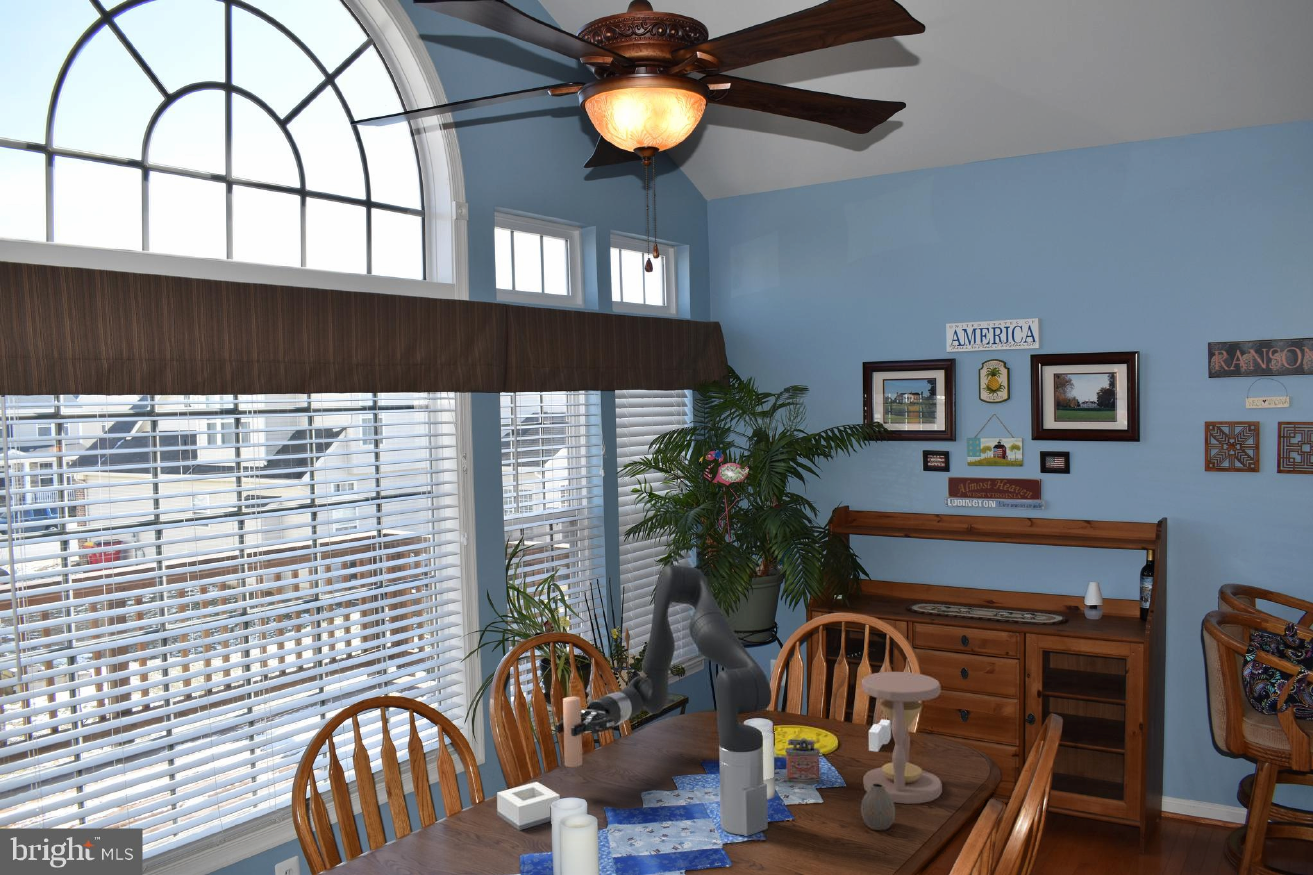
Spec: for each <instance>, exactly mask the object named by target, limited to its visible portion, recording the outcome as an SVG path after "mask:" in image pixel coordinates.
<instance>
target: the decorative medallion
mask: <svg viewBox="0 0 1313 875" xmlns="http://www.w3.org/2000/svg"><path fill="white" fill-rule="evenodd" d="M773 726H774V731H775V732H774V733H775V754H776V756H775V757H777V756H785V757H786V753H785V749H786V748H790V747H794V745H788V740H789V739H798V740H801V739H802V738H806V739H807V740H814V748H818V749H819V750H820V754H825V755H827V754H830V753H832V752H834V751H835V750H836V749H838V746H839V740H838V738H837V736H836V735H834V734H833V733H831V732H829V731H827V730H824V729H821V728H816V727H812V726H806V725H792V724H791V725H789V724H787V725H785V724H784V725H782V724H781V725H773ZM797 747H799V746H797ZM809 747H810V746H809ZM810 748H811V747H810ZM785 757H784V758H785Z"/></svg>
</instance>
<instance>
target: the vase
mask: <svg viewBox="0 0 1313 875" xmlns="http://www.w3.org/2000/svg"><path fill="white" fill-rule="evenodd" d="M860 808H861V809H860V811H861V816H862V819H863V822H864V823H865V824H866V826H867V827H869V829H871V830H873V831H885V830H887V829H889V828H890V827H891V826H892V825H893V822H894V820H895V816H896V806H895V802H893V800H892V798H891V796H890V795H889V794H888V792H887V791H886V790H885V788H884V786H883V785H882V784H880V783H874V784H872V786H871V788H870V789H869V791H868V792H867V791H866V793H865V794H864V796H863V798H862V800H861V805H860Z"/></svg>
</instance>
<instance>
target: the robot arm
mask: <svg viewBox="0 0 1313 875" xmlns="http://www.w3.org/2000/svg"><path fill="white" fill-rule="evenodd" d="M671 603H674V604H683V605H689V606H691V607H693V609H694V612H693V614H692V615H691V618H690V620H689V625H688V628H689V634H690V636H691V639H692V640H693V642H694V645H695V646H696V649H698V652H700V654H701V655H702V656H703V657H704V658H706V659H707V660H709V661H711V662H712V663H714V664H715V665H718V666H719V667H720V668H724V670H721V671H719V673H717V675H716V679H715V687H714V689H715V702H716V715H717V717H716V718H717V723H716V724H717V733H718V743H719V744H718V748H719V749H718V751H719V755H718V756H719V804H720V805H719V806H720V807H719V808H720V809H719V810H720V811H719V812H720V827H721V829H722V830H724V831H725V832H727V833H730V834H733V835H734V834H735V835H741V836H744V837H748V836H752V835H754V834H757V833H759V832H763V831H765V830H767V829H768V785H767V783H765V782H764V753H763V735H762V732H761V731H760V730H759V728H757V727H755V726H752V725H749V724H744V723H742V722H740V721H739V717H738V715H744V714H752V713H758V712H762V711H764V710H766V709H767V708H769V706H770V705H771V702H772V690H771V689H772V688H771V685H770V682H769V680H768V677H767V676H766V674H765V672H764V670H763V669H762V668H761V666H760V665H759V664H758V663H757V662H756V660H755V659H754V657H752V656H751V654H750V653H749V652H748V651H747V649H746V648H745V646H744V645H743V643H742V642H741V641H740V639H739V638H738V636H737V634H736V633H735V630H734V628H733V627H732V625H731V624H730V621H728V619H727V617H726V616H725V614H724V613H723V611H722V610H721V608H720V605H719V604H718V603H717V601H716V599H715V596H714V594H713V593H712V591H711V588H710V586H709V584H708V581H707V578H706V577H705V575H704V573H703V572H702V571H701V570H700V569H698V568H696V567H692V566H683V565H675V564H667V565H665V566H664V567H663V568H662V569H661V571H660V574H659V577H658V580H657V585H656V590H655V597H654V603H653V604H654V605H653V611H652V619H651V620H652V621H651V629H650V634H649V639H648V642H647V646H646V649H645V653H644V657H643V660H642V663H641V670H642V672H643V674H644V675H645V676H646V677H645V676H642V675H641V676H635V677H634V678H633V679H631V681H630V682H629V683H628V684H627V685H626V686H625V687H624V688H623V689H621V690H619V691H617V692H611V693H608V694H606V695H604V696H601V697H598V698H596V699H594V700H592V701H591V702H589V703H588V705H587V707H586V709H582V710H581V723H579V724H577V725H574V726H572V728H571V735H572V736H577V735H579V734H581V735H582V734H588V733H590V732H591V734H593V735H595V734H597V733H602V732H607V731H610V730H614V727H616V726H618V725H620V724H622V723H623V722H625V721H626V720H629V719H631V718H633V717H635V716H637V715H639V714H640V712H641V711H642V709H643V710H645V711H646V712H647V713H650V714H654V715H655V714H659V713H660V712H662V711H663V710H664V709H665V708H666V705H667V703H668V699H669V672H670V667H671V665H672V664H671V663H672V660H673V658H674V654H675V649H676V643H675V642H676V641H675V637H674V633H673V630H672V628H671V625H670V620H669V608H670V606H671ZM555 733H556V734H561V733H564V720H563V714H562V715H560V721H559V722H557V723H555Z"/></svg>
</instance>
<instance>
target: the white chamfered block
mask: <svg viewBox="0 0 1313 875" xmlns="http://www.w3.org/2000/svg"><path fill="white" fill-rule="evenodd" d="M891 733H892V723H891V722H890V720H889V719H880V721H879V722H878V723H873V725H872V726H871V727H870V729H869V730H868V751H869V752H870V751H871V752H876V753H877V752H879V751H880V749H881V747H882V746H883V745H888V744H889V742H890V740H891V735H892V734H891Z"/></svg>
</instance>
